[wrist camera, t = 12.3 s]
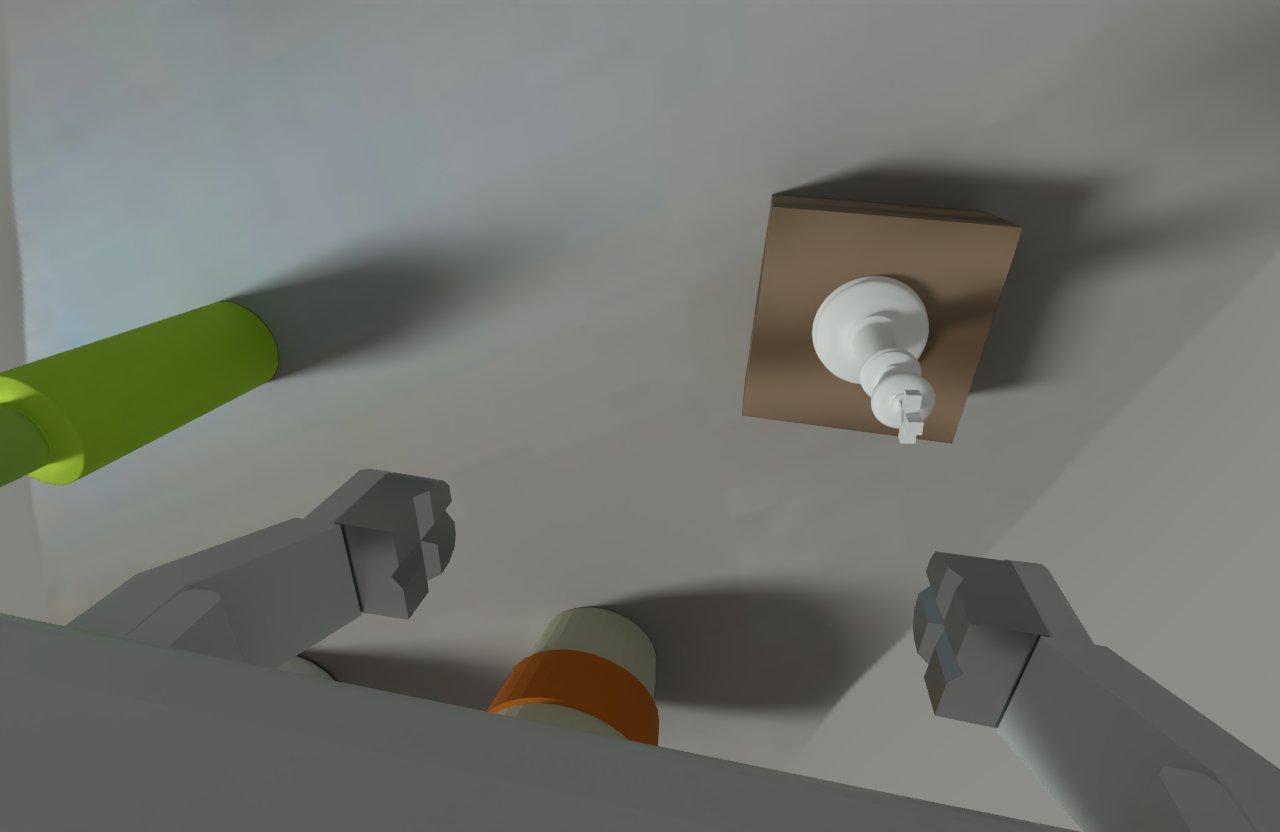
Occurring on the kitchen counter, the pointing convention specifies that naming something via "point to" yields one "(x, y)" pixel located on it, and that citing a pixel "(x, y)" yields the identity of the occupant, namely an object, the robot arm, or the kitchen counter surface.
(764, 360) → the walnut block
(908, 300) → the chess piece
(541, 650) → the reusable coffee cup
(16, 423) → the soap dispenser
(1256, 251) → the kitchen counter surface
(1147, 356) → the kitchen counter surface
